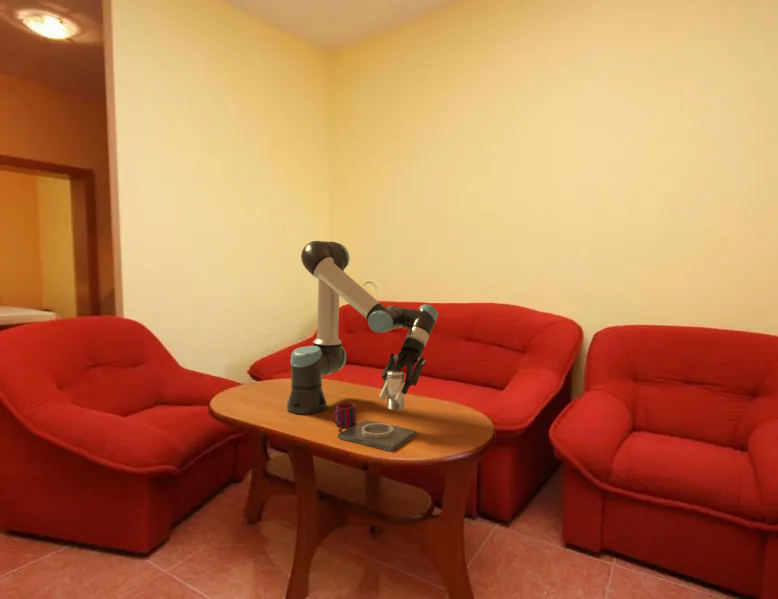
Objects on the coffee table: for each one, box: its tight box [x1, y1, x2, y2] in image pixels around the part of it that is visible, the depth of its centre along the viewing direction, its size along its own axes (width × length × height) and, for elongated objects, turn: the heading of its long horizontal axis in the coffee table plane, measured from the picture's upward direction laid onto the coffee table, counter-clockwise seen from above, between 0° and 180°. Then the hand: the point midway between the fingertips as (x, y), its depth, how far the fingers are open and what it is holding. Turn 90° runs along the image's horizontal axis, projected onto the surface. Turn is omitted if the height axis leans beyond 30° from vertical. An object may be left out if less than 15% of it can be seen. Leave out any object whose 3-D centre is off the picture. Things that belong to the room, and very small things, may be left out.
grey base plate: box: [337, 419, 418, 452], centre depth 152 cm, size 20×16×3 cm
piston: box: [386, 369, 405, 411], centre depth 157 cm, size 6×6×12 cm
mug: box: [332, 402, 357, 429], centre depth 162 cm, size 7×10×7 cm
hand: (389, 399), depth 154 cm, fingers closed on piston, 5 cm apart
